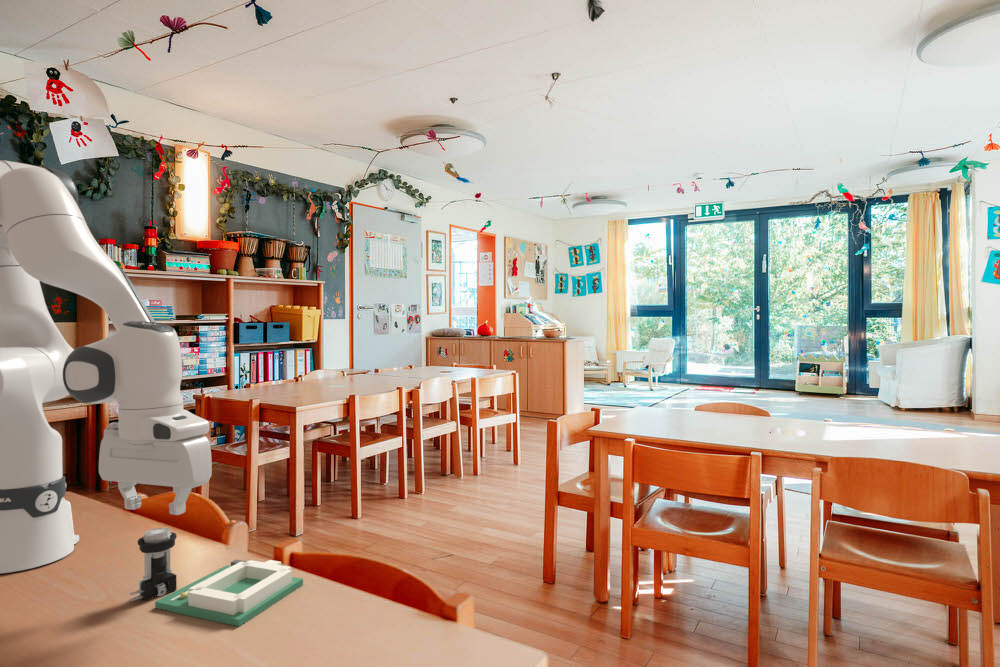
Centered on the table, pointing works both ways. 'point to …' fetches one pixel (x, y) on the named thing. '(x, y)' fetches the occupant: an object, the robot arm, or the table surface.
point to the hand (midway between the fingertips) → (155, 511)
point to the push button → (156, 564)
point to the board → (233, 592)
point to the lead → (236, 562)
